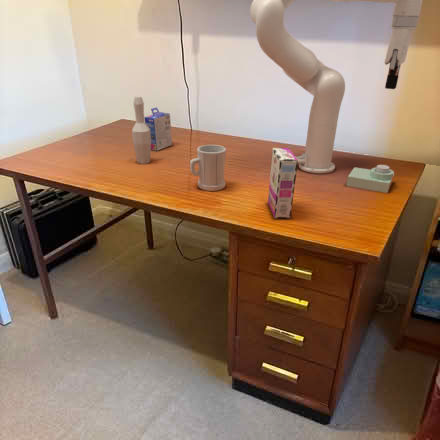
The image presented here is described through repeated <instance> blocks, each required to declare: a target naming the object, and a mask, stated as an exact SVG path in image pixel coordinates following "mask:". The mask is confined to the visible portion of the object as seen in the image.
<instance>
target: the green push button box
mask: <svg viewBox="0 0 440 440" xmlns="http://www.w3.org/2000/svg"><path fill="white" fill-rule="evenodd" d="M376 167H377V166H375V167H372V168H371V169H369V168H363V167H357V166H356V167H353V169H352V170H351V171H350V173H349V174H348V176H347V179H346V184H345V185H346V187H351V188H357V189H361V190H362V189H363V190H368V191H375V192H380V193H386V194H388V193H389V191H390V188H391V186H392V184H393V182H394V178H395V171H394V170H393V169H391V168H390V169H389V173H378V172H376Z"/></svg>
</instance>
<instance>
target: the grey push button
mask: <svg viewBox="0 0 440 440" xmlns="http://www.w3.org/2000/svg"><path fill="white" fill-rule="evenodd" d="M375 167H376V172H378V173H389V169H390V170H391V168H390V166H389V165H387V164H377V165H376V166H375Z"/></svg>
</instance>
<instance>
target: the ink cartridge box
mask: <svg viewBox="0 0 440 440" xmlns="http://www.w3.org/2000/svg"><path fill="white" fill-rule="evenodd" d="M150 111H151V113H152V114H150V115H147V116H144V122H145V123H146V125H147V126H148V127H149V129H150V135H151V151H155V152H157V151H160V150H162V149H166V148H169V147H170V146H172V145H173V137H172V135H173V134H172V124H171V123H172V121H171V113H168V112H163V111H160V110H159V109H158V107H152V108H150Z"/></svg>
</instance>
